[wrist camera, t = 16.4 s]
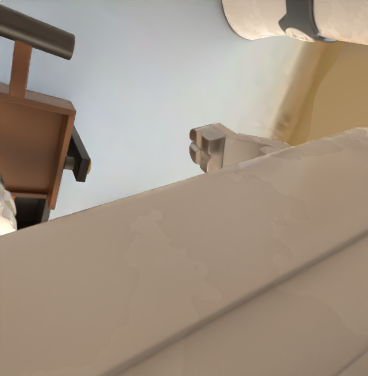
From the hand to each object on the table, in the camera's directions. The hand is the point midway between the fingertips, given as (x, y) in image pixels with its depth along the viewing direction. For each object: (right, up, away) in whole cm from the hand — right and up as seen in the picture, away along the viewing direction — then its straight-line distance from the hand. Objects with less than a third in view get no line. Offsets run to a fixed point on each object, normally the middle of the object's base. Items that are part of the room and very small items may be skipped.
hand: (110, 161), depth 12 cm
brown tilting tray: (-11, +5, +11) cm, 16 cm away
